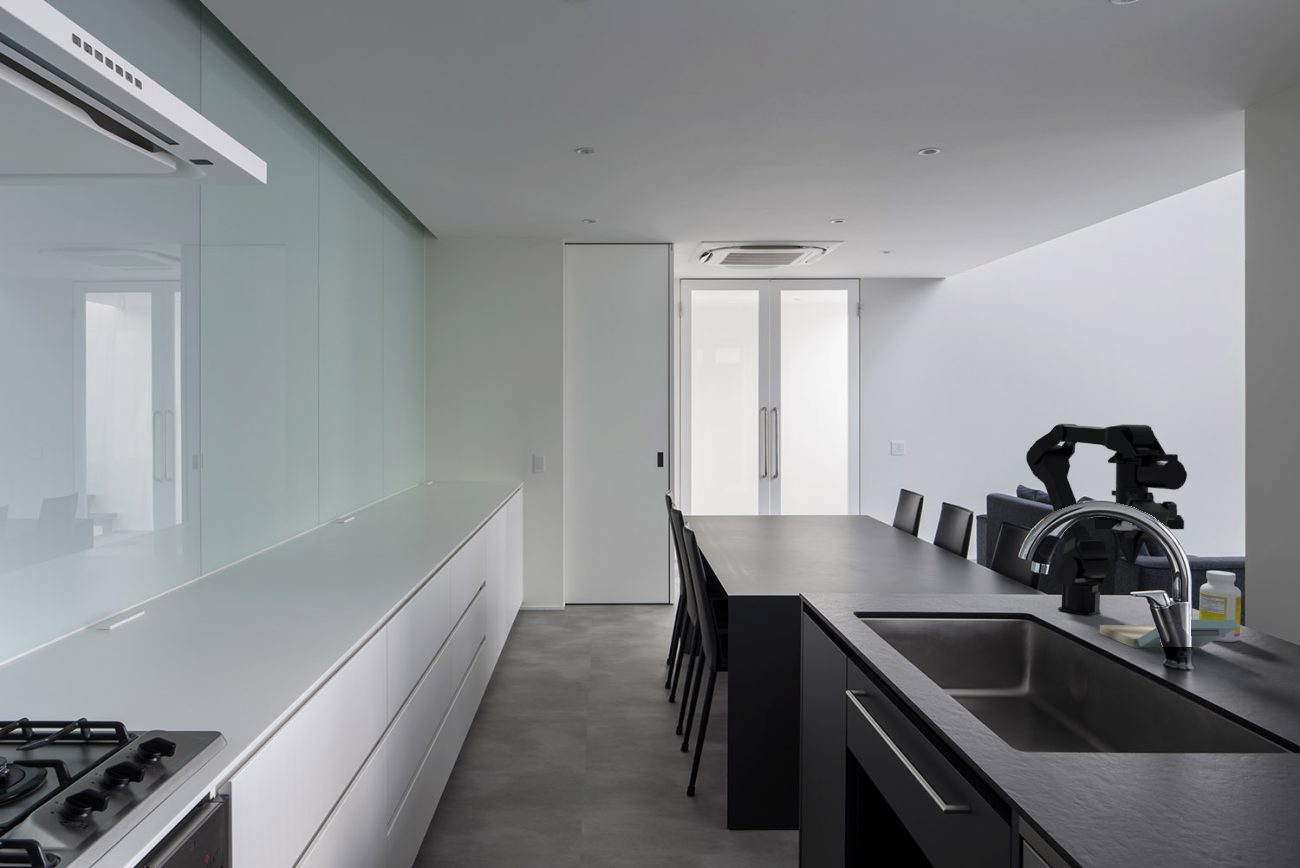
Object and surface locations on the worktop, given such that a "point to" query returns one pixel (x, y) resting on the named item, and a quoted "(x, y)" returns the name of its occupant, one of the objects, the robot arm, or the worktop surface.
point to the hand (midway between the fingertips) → (1131, 563)
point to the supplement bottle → (1221, 601)
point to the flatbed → (1127, 633)
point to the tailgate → (1194, 633)
